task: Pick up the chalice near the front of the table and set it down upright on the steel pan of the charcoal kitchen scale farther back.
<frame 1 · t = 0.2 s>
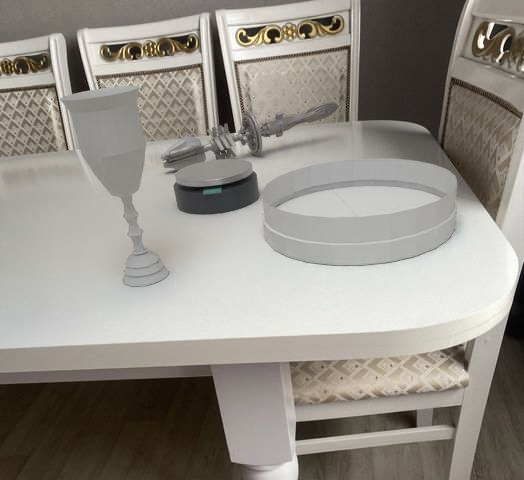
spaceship: (255, 156, 97), on the table
chalice: (146, 277, 57), on the table
scale: (218, 200, 76), on the table
scale pan: (213, 172, 74), point 4 cm above the table, slide at 0.1 cm
gray round ring: (356, 227, 62), on the table
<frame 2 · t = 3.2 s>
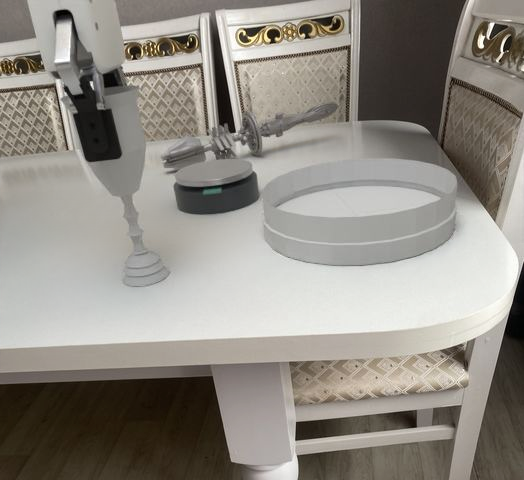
hand: (114, 148, 49), 13 cm above the table, tool pointing down, fingers closed on chalice, 7 cm apart
chalice: (146, 277, 57), on the table, touching gripper
everything else where it was.
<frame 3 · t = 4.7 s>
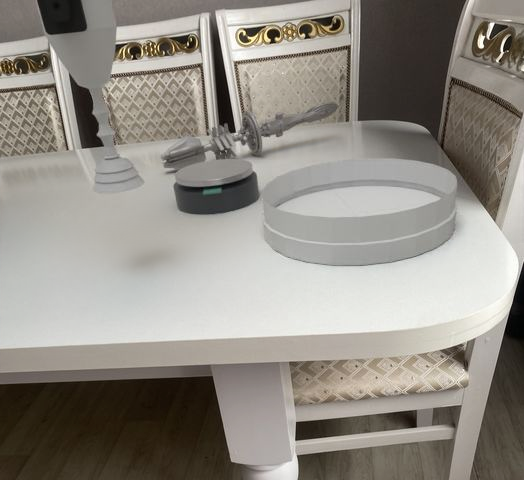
hand: (80, 28, 44), 23 cm above the table, tool pointing down, fingers closed on chalice, 7 cm apart
chalice: (119, 187, 52), point 9 cm above the table, touching gripper
everything else where it was.
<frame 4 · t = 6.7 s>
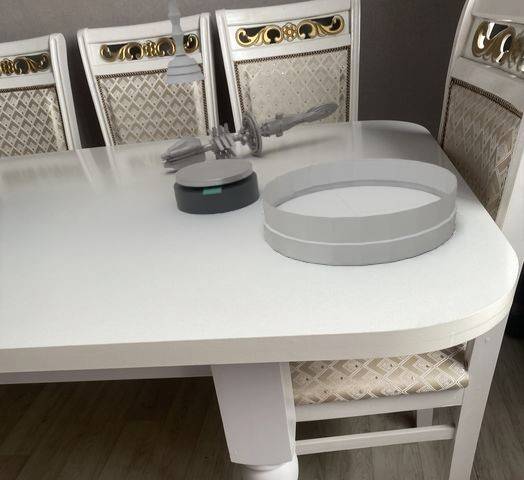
chalice: (185, 82, 64), point 16 cm above the table, touching gripper
everything else where it was.
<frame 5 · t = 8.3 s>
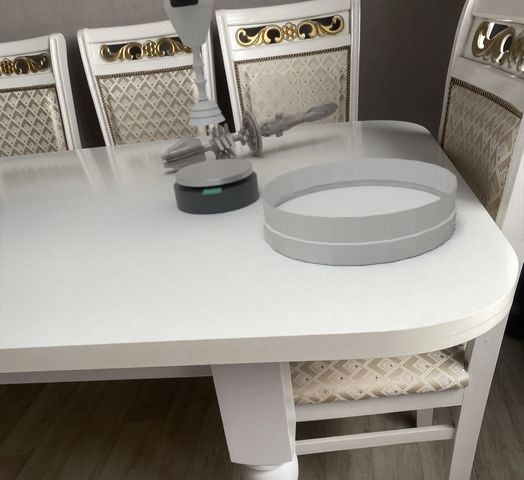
hand: (188, 4, 63), 24 cm above the table, tool pointing down, fingers closed on chalice, 7 cm apart
chalice: (206, 123, 71), point 11 cm above the table, touching gripper
everything else where it was.
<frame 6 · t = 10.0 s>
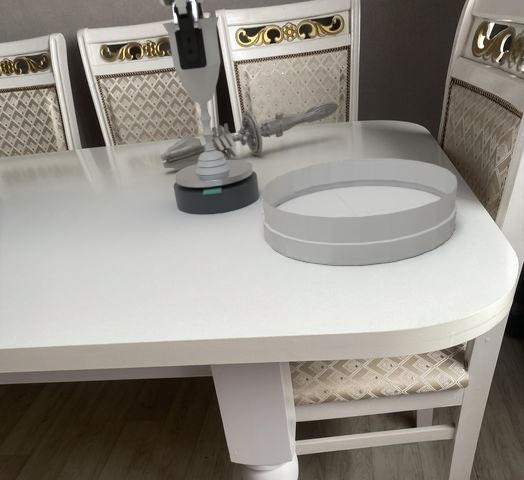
hand: (196, 64, 67), 18 cm above the table, tool pointing down, fingers closed on chalice, 7 cm apart
chalice: (213, 171, 74), point 4 cm above the table, touching gripper, scale pan
scale pan: (214, 172, 74), point 4 cm above the table, slide at 0.0 cm, touching chalice
everything else where it was.
when the fingers open (18 cm above the table, at t = 10.3 s): chalice stays where it is, resting on scale pan.
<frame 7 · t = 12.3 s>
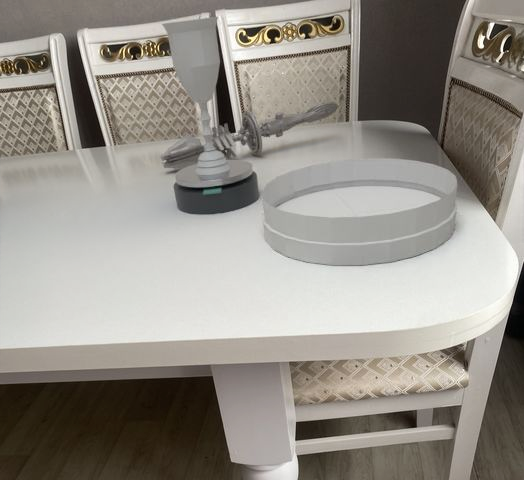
chalice: (213, 171, 74), point 4 cm above the table, touching scale pan
everything else where it was.
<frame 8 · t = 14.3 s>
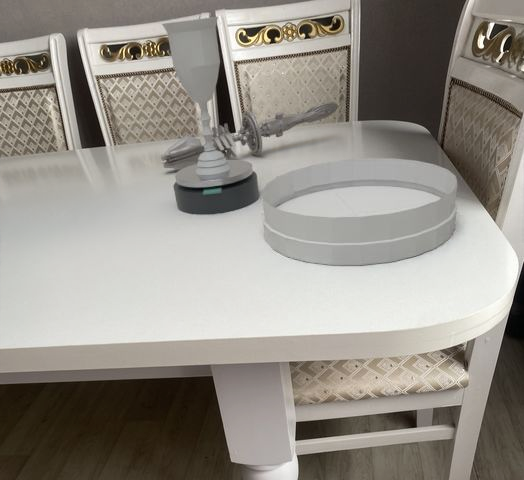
nothing on the table moved.
at the end: chalice 0.1 cm off-centre on the scale, point 4.2 cm above the scale's base; chalice tilted 0°; the gripper is holding nothing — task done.
